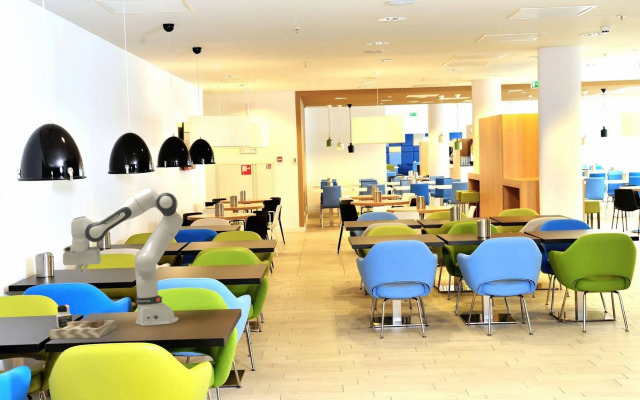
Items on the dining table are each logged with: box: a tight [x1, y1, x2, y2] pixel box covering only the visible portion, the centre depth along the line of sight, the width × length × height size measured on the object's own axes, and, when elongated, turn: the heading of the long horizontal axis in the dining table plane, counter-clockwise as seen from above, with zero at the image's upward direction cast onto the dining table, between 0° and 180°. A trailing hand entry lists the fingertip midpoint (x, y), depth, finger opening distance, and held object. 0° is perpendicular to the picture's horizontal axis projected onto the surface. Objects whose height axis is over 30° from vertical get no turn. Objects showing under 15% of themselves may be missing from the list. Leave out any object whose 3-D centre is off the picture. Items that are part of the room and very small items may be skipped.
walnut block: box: [90, 319, 105, 328], centre depth 369 cm, size 5×5×4 cm
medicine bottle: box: [55, 304, 73, 329], centre depth 390 cm, size 7×7×12 cm
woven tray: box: [48, 319, 117, 340], centre depth 371 cm, size 26×20×4 cm
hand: (82, 273), depth 386 cm, fingers closed
